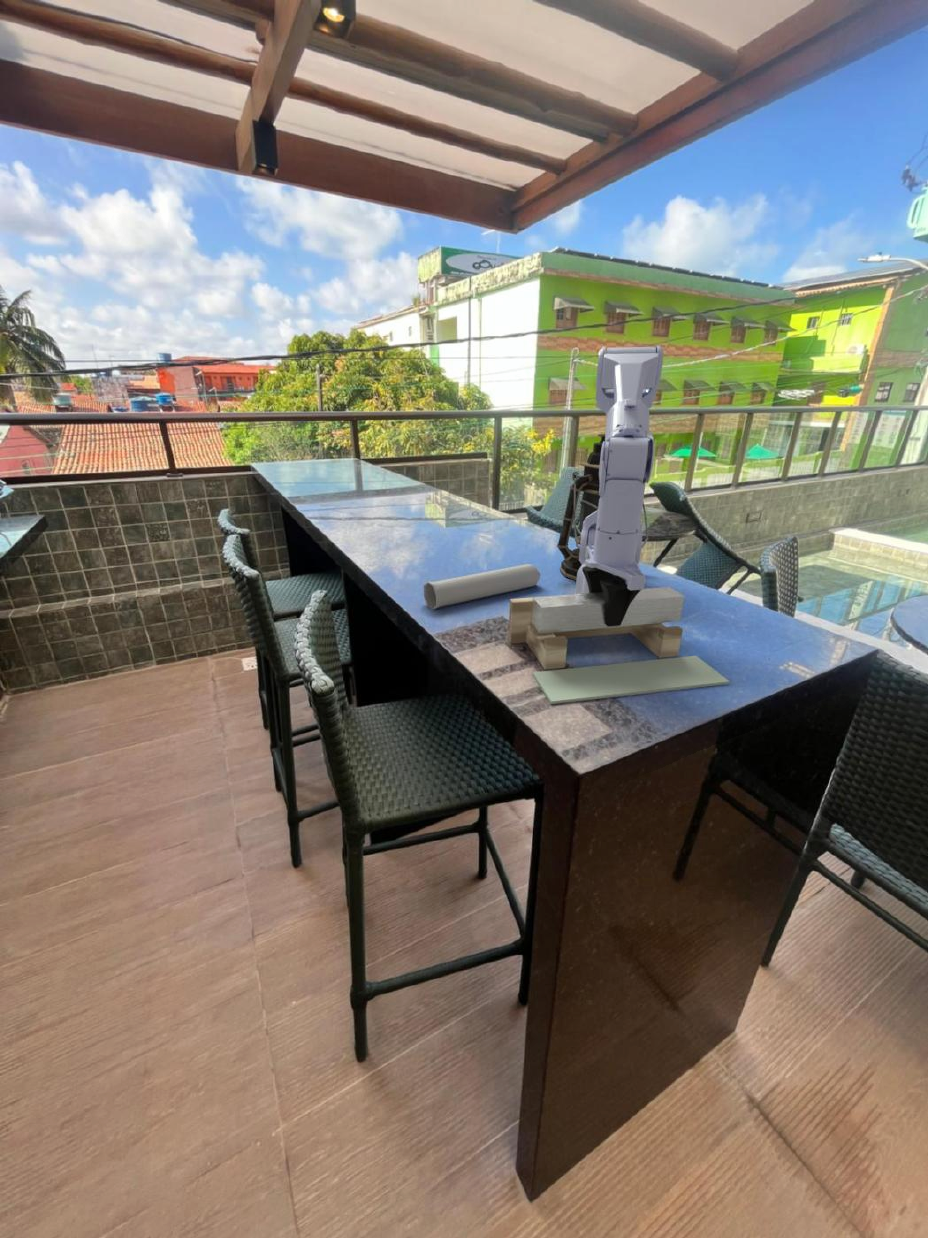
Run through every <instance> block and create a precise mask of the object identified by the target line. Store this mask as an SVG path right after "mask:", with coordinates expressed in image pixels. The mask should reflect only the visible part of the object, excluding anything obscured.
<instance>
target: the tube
mask: <svg viewBox="0 0 928 1238" xmlns="http://www.w3.org/2000/svg"><path fill="white" fill-rule="evenodd" d="M540 577H541V572H540V571H539V569H538V568H537V567H536V566H535V565H533V564H530V563H527V564H520V565H515V566H510V567H505V568H499V569H494V570H489V571H483V572H477V573H473V574H468V575H464V576H458V577H453V578H446V579H441V580H437V581H427V582H426V583H425V584H424V585H423V598H424V601H425V604H426V606H428V607H429V608H430V609H432V610H436V609H439V608H444V607H448V606H452V605H457V604H461V603H465V602H470V601H471V602H472V601H474V600H478V599H483V598H489V597H493V596H496V595H501V594H505V593H506V594H507V593H511V592H514V591H519V590H523V589H528V588H532V587H534V586H536V585H538V584H539V581H540Z"/></svg>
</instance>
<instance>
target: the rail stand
mask: <svg viewBox="0 0 928 1238" xmlns="http://www.w3.org/2000/svg"><path fill="white" fill-rule="evenodd" d="M533 597H534V596H533ZM533 597H522V598H521V597H520V598H510V599H509V613H508V615H509V618H508V641H509V643H510V642H511V643H513V644H523V643H526V644H527V645H528V647H529V649H530V650H531V652H532V653H533V654H534V655H535V657H536V659H537V660H538V662H539V663H540V664H541V666H542V667H543V669H544V671H548V670H558V669H564V668H565V669H566V660H567V659H566V658H567V649H568V639H578V638H586V637H598V636H611V635H619V634H620V635H621V634H631V635H632V636H634V638H636V639H637V640H638V641H639V642H640V643H641V644H643V645H644V646H645V647H646V648H647V649H649V651H651V652H652V653H653V654H654V655H656V656H657V657H658V658H659V659H666V658H676V657H679V652H680V647H681V641H682V637H683V631H684V629H683V627H681V626H679V625H672V626H665V625H664V623H654V624H643V625H631V626H620V627H609V628H598V629H587V630H575V631H564V632H553V633H542V634H540V633H539V632H538V630H537V629H536V628H535V626H534V625H533V624H532V622H531V619H532V602H533ZM511 643H510V644H511Z"/></svg>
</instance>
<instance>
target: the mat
mask: <svg viewBox="0 0 928 1238" xmlns="http://www.w3.org/2000/svg"><path fill="white" fill-rule="evenodd" d="M531 675H532V677H533V679H535V681H536V683H537V685H538V686H539V688H540V689H541V692H543V694H544V695H545V697H546V699H547V700H548V702H549V703H550V705H556V704H563V703H575V702H581V701H582V702H583V701H590V700H598V699H600V700H601V699H606V698H607V699H608V698H609V699H610V698H617V697H626V696H627V697H628V696H634V695H643V694H651V693H652V694H653V693H658V692H659V693H660V692H669V691H677V690H686V689H696V688H704V687H712V686H721V684H723V685H728V683H729V684H730V680H728V679H727V678H726V677H725V676H723V675H722V674H720V672H718V671H716V670H715V669H714V668H713V667H712V666H710V665H709V664H708V663H706V662H705V661H703V660H702V659H701V658H699V657H698V656H697V655H691V656H689V655H688V656H680V657H679V656H678V657H668V658H659V659H652V660H651V659H650V660H641V661H633V662H631V661H630V662H620V663H612V664H604V665H593V666H591V665H590V666H583V667H581V666H580V667H575V668H574V667H573V668H565V669H564V668H560V669H551V670H543V671H533V672H532V674H531ZM725 683H726V684H725Z"/></svg>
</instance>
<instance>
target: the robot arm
mask: <svg viewBox="0 0 928 1238" xmlns="http://www.w3.org/2000/svg"><path fill="white" fill-rule="evenodd" d="M597 358H598V359H597V367H596V368H597V370H596V377H595V378H596V379H595V387H596V388H595V397H594V398H595V402H596V406H595V407H596V408H597V409H599V410H600V411H602V412H603V413H605V416H606V417H605V418H606V422H605V423H606V425H605V433H604V434H605V446H604V441H603V444H602V448H601V457H600V467H599V480H600V488H599V496H600V499H599V506H598V510H597V511H595V512H593V513H592V514H590V515H589V516H587V517H586V518H585V520H584V521H583V530H582V532H581V535H580V536H581V542H580V544H579V547H580V553H579V561H580V562H581V564H582V565H581V567H580V568H579V570H578V573H577V581H575V582H576V583H575V590H574V591H575V592H574V594H583V593H597V592H603V593H604V599H605V623H606V625H607V626H608V627H611V626H620V625H621V623H622V621H623V619H624V616H625V614H626V612H627V610H628V608H629V606H630V604H631V602H632V601H633V599H634V598H635V596H636V595H637V594H638V593H639V592H640V591H641V590H643V589H645V586H646V578H647V576H646V575H645V573H643V571H641V569H640V566H639V562H640V559H641V554H642V549H643V547H642V544H643V534H642V531H643V524H642V521H641V518H642V511H643V501H644V497H645V491H646V484H648V483H649V481H650V479H651V477H652V472H653V468H654V462H655V451H656V449H655V438H654V436H653V434H652V433H650V410H649V409H651V408H652V407H653V402H654V401H655V399H656V395H657V391H658V386H659V384H660V381H661V377H662V371H663V370H662V369H663V363H664V349H663V347H662V346H661V345H656V346H632V347H631V346H629V347H628V346H627V347H606V346H602V347H601V349H599V351H598V357H597ZM644 480H645V483H646V484H645V483H644ZM641 548H642V549H641ZM585 558H586V560H585Z"/></svg>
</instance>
